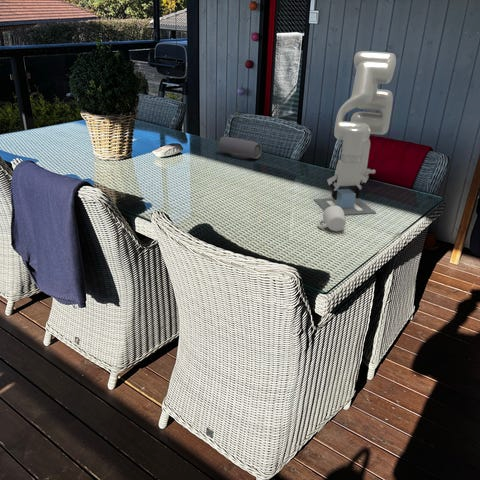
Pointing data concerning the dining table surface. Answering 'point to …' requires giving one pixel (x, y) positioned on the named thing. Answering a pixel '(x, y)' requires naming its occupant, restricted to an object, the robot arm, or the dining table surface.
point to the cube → (345, 198)
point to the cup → (333, 218)
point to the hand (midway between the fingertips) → (345, 198)
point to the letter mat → (357, 210)
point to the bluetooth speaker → (240, 147)
